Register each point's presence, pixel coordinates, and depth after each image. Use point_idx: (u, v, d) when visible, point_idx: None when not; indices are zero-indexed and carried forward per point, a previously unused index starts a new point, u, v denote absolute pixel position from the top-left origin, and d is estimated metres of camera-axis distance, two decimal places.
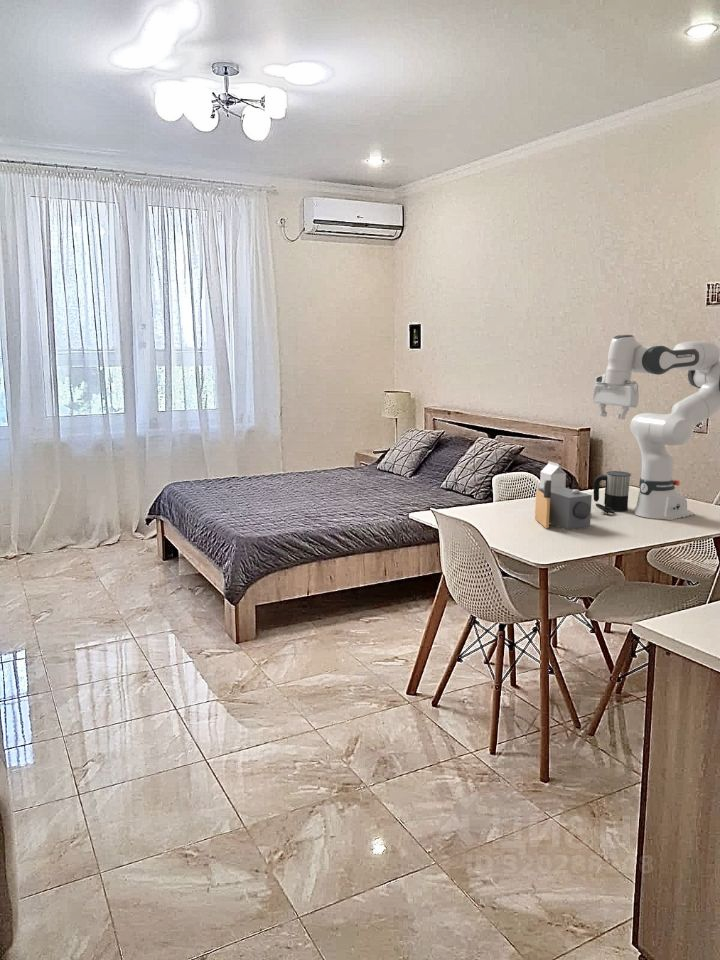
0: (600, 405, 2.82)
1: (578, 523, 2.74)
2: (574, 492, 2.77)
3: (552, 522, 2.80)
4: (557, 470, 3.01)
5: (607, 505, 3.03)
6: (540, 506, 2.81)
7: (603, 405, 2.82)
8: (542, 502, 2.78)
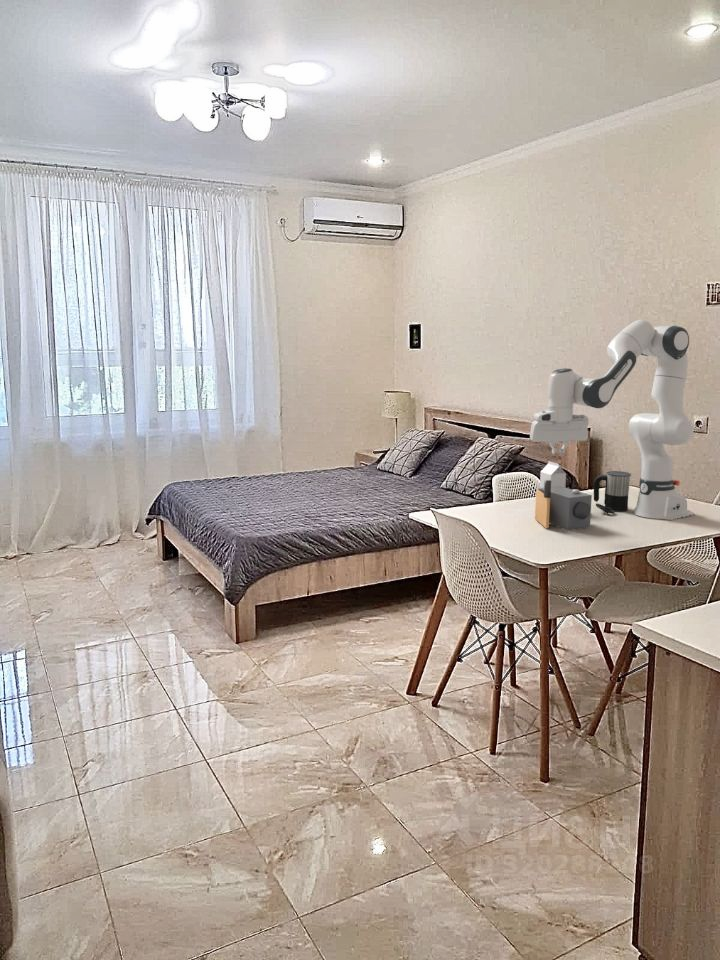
0: (552, 443, 2.70)
1: (578, 523, 2.74)
2: (574, 492, 2.77)
3: (552, 522, 2.80)
4: (557, 470, 3.01)
5: (607, 505, 3.03)
6: (540, 506, 2.81)
7: None
8: (542, 502, 2.78)
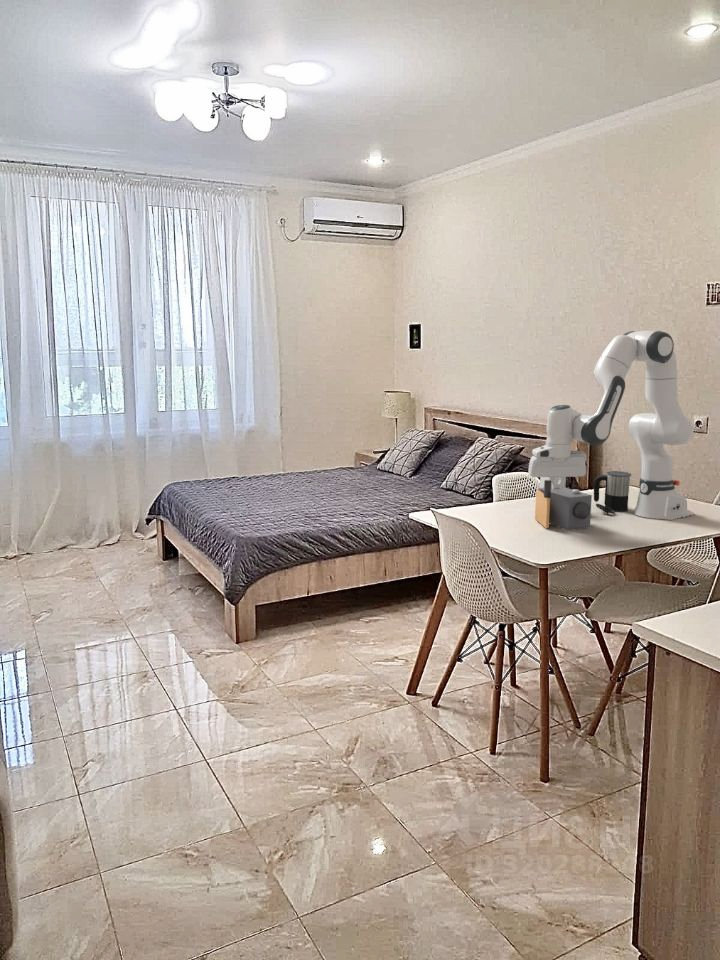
0: (552, 478, 2.73)
1: (578, 523, 2.74)
2: (574, 492, 2.77)
3: (552, 522, 2.80)
4: None
5: (607, 505, 3.02)
6: (540, 506, 2.81)
7: None
8: (542, 502, 2.78)
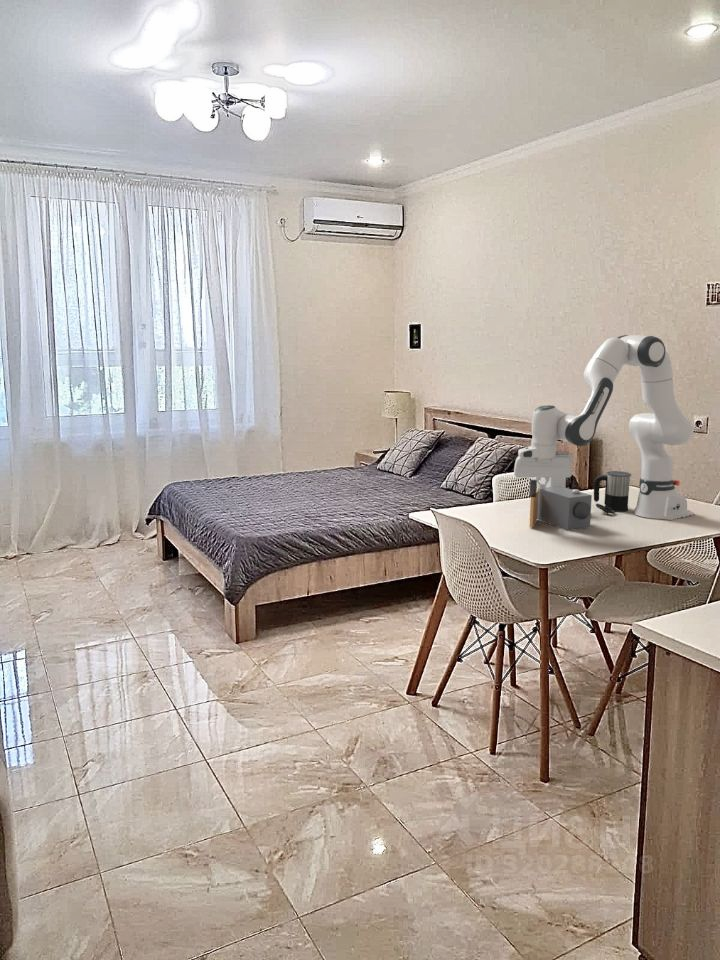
0: (538, 479, 2.72)
1: (578, 523, 2.74)
2: (574, 492, 2.77)
3: (552, 522, 2.80)
4: None
5: (607, 505, 3.02)
6: None
7: None
8: None
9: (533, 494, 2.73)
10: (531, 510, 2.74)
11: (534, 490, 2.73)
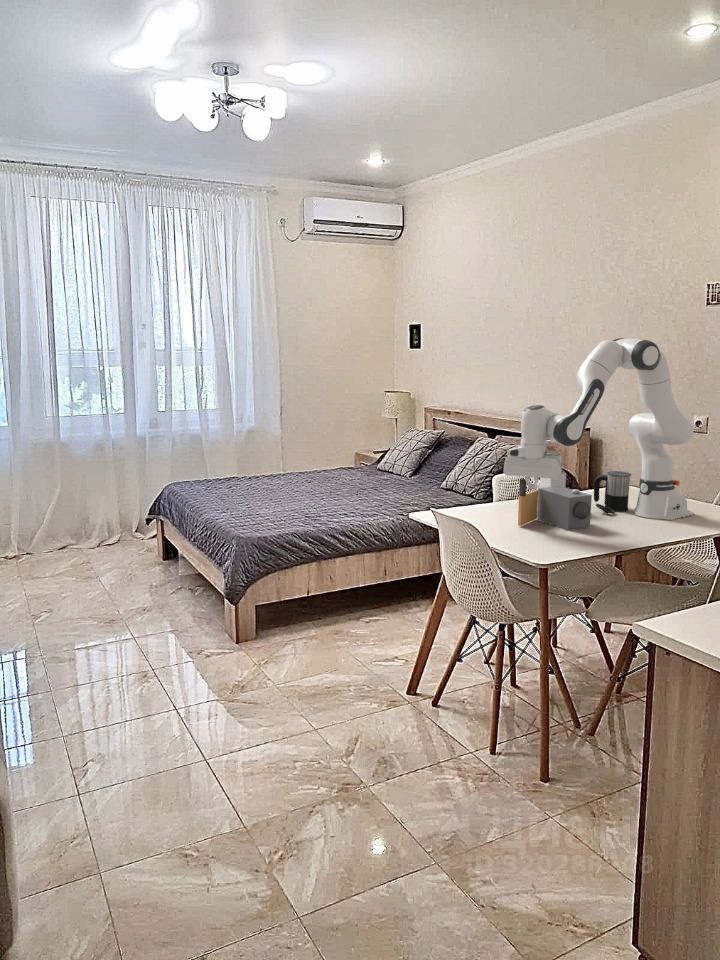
0: (526, 478, 2.74)
1: (578, 523, 2.74)
2: (574, 492, 2.77)
3: (552, 522, 2.80)
4: None
5: (607, 505, 3.02)
6: None
7: (529, 478, 2.74)
8: None
9: (522, 493, 2.76)
10: (519, 509, 2.76)
11: (523, 489, 2.75)
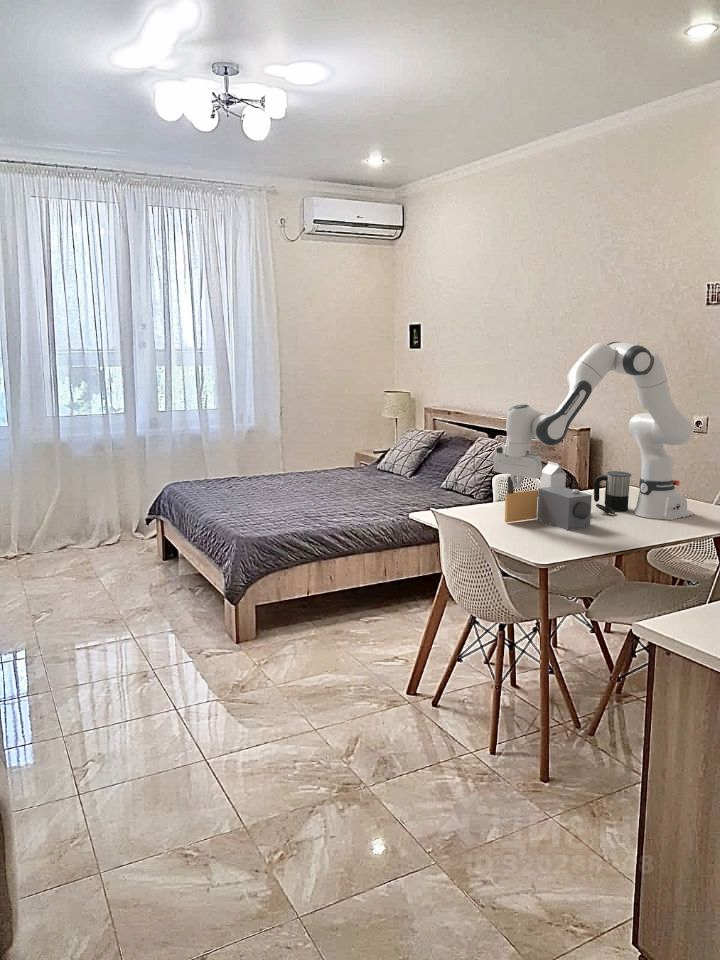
0: (511, 476, 2.78)
1: (578, 523, 2.74)
2: (574, 492, 2.77)
3: (552, 522, 2.80)
4: (557, 470, 3.01)
5: (607, 505, 3.02)
6: None
7: (514, 476, 2.78)
8: None
9: (508, 490, 2.80)
10: (506, 505, 2.82)
11: (509, 486, 2.80)
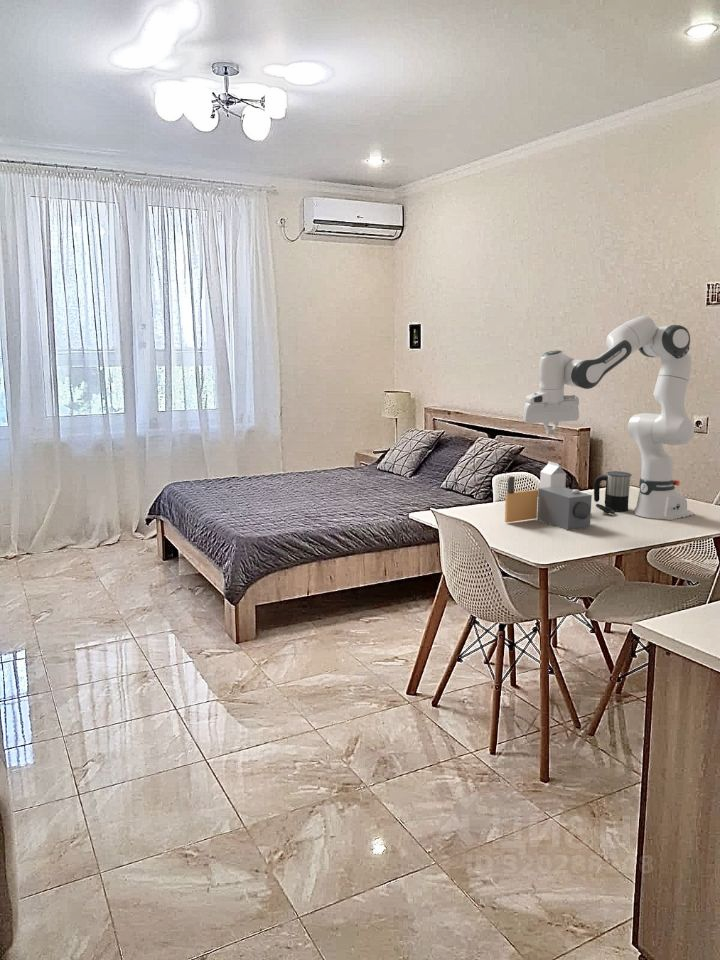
0: (546, 423, 2.77)
1: (578, 523, 2.74)
2: (574, 492, 2.77)
3: (552, 522, 2.80)
4: (557, 470, 3.01)
5: (607, 505, 3.02)
6: None
7: None
8: None
9: (508, 490, 2.80)
10: (506, 505, 2.81)
11: (509, 486, 2.80)
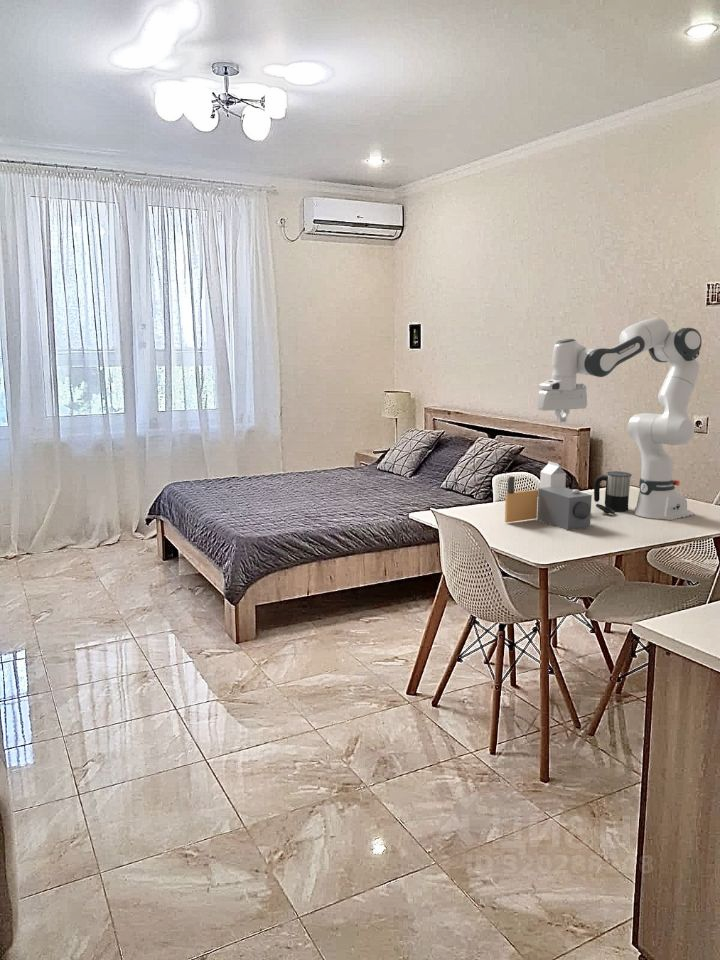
0: (559, 411, 2.79)
1: (578, 523, 2.74)
2: (574, 492, 2.77)
3: (552, 522, 2.80)
4: (557, 470, 3.01)
5: (607, 505, 3.02)
6: None
7: None
8: None
9: (508, 490, 2.80)
10: (506, 505, 2.81)
11: (509, 486, 2.80)
